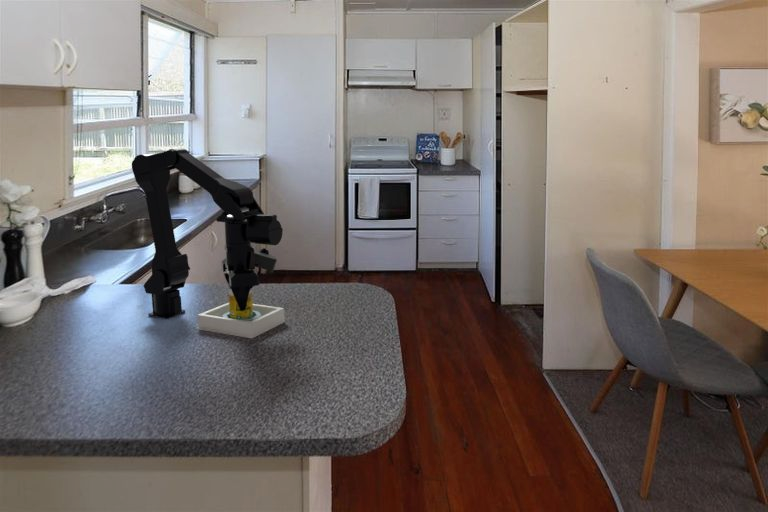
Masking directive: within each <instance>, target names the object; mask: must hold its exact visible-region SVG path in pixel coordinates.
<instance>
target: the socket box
mask: <svg viewBox="0 0 768 512" xmlns="http://www.w3.org/2000/svg"><path fill="white" fill-rule="evenodd" d="M252 305H253V317H252V318H250V319H240V320H238V319H231V318H230V309H229V302H226V303H224V304H222V305H219V306H216V307H214V308H211V309H209V310H207V311H204V312H201V313H199V314H197V322H198V323H197V324H198V330H201V331H207V332H212V333H217V334H218V333H219V334H223V335H230V336H236V337H241V338H248V339H254V338H255V337H257V336H260V335H261V334H265V333H266V332H267V331H271V330H272V329H274V328H276V327H278V326H279V325H281V324H284V323H285V308H284V307H278V306H271V305H264V304H257V303H256V304H255V303H252Z"/></svg>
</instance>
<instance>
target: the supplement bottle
mask: <svg viewBox="0 0 768 512" xmlns="http://www.w3.org/2000/svg"><path fill="white" fill-rule="evenodd" d="M228 303H229V309H230V318H231V319H238V320H240V319H250V318H252V317H253V305H252V304H253V291H252V288H251V289H250V291H249V295H248V300H247V305H246V309H245V311H241V310H240V308H239V306H238V304H237V301H236V299H235V297H234V295H233V292H232V290H231V289H230V288H229V291H228Z"/></svg>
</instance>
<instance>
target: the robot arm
mask: <svg viewBox="0 0 768 512" xmlns="http://www.w3.org/2000/svg"><path fill="white" fill-rule="evenodd" d="M175 169H176V170H177V171H179V172H180V173H181V174H183V175H184V176H186V177H187V178H188V179H190V180H191V181H192V182H194V183H195V184H196V185H198V186H199V187H200V188H202V189H203V190H205V191H206V192H207V193H209V195H210V196H211V199H212V200H213V202H214V203H215V204H216V205H217V206H218V207H219V209H220V210H221V211H222V213H220V215H219V216H218V217H217V218H216V219H215V220H216V222H217V223H224V237H225V244H224V250H225V257H226V258H224V259H223V260H222V261H221V262H220V263H221V272H223V276H224V278H225V281H226V283H227V285H228V287H229V290H230V289H231V290H232V292H233V295H234V297H235V299H236V301H237V304H238V306H239V308H240V310H241V311H245V309H246V305H247V300H248V295H249V291H250V289H251V290H252V288H254V287H256V286H259V285H260V276H259V274H258V273H257V272H256V271H255V270H256V268H259V269H261V270H262V269H263V270H266V271H268V272H270V273H273V272H274V269H275V267H276V264H277V262H278V259H277V258H276V257H275V256H274V255H272V254H270V252H269V251H270V250H268V249H267V248H264V247H260V249H258V250H255V248H254V247H253V245H252V244H256V245H257V244H259V245H265V246H266V245H267V246H278V245H279V244H280V243H281V240H282V238H283V227H282V225H281V222H280V221H279V220H277V219H278V216H277V214H272V213H271V214H265V213H264V211H263V210H262V208H261V207H260V205H259V204H258V202H257V200H256V198H255V197H254V192H253V191H252V189H250V187H248V186H246V185H244V184H242V183H239V182H237V181H234V180H230V179H227V178H225V177H223V176H221V175H220V174H219V173H218V172H216V171H215V170H214V169H212V168H211V167H209V166H207V165H206V163H204V162H202V161H200V160H199V159H198V158H197V157H195V156H194V155H192V154H191V153H190V152H189V151H188V150H187V149H185V148H182V147H181V148H170V149H168V150H166V151H161V152H158V153H146V154H145V153H144V154H138V155H136V156H135V157H134V158H133V160H132V162H131V170H132V173H133V175H134V179H135V182H136V184H137V185H138V186H139V187H140V189H141V190H142V191H143V192H144V195H145V196H144V197H145V200H146V206H147V212H148V216H149V217H148V218H149V222H150V223H149V224H150V227H151V234H152V239H153V244H154V249H155V250H154V251H155V253H154V256H153V258H152V262H151V275H150V277H148V279H147V280H146V281H145V282H144V283H143V288H144V291H145V293H146V294H147V295H148V294H149V295H151V301H152V302H151V304H152V306H151V307H152V311H151V312H149V313H148V317H153V318H154V317H155V318H161V319H168V320H169V319H171V318H174V317H176V316H179V315H181V314H182V315H183V313H184V314H185V313H186V309H183V307H182V296H181V293H180V289H181V288H185V284H186V281H187V279H188V278H189V276H190V275H189V273H190V270H191V267H190V264H189V257H188V254H186V253H183V254H182V253H181V252H180V250H179V249H178V247H177V243H176V242H177V241H176V237H175V232H174V231H175V230H174V226H173V220H172V215H171V209H170V204H169V197H168V194H167V193H168V191H167V189H168V185H169V182H170V179H171V171H172V170H175ZM226 271H227V272H226ZM225 272H226V273H225Z"/></svg>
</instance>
